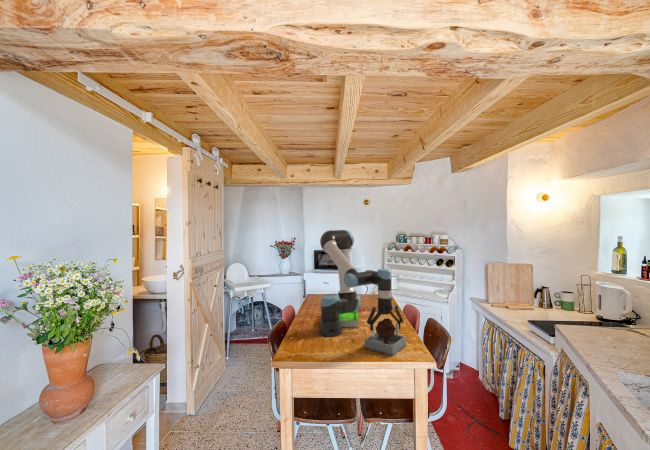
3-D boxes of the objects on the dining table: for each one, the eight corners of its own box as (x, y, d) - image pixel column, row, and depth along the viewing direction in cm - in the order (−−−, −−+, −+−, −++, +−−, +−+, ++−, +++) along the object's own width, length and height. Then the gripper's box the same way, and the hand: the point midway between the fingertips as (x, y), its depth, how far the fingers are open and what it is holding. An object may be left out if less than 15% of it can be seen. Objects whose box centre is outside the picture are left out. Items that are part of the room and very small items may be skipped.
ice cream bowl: (396, 342, 176) (395, 315, 176) (395, 349, 165) (394, 321, 165) (377, 340, 179) (376, 314, 179) (375, 348, 168) (374, 320, 168)
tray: (358, 317, 230) (358, 310, 230) (358, 328, 205) (358, 320, 205) (324, 316, 233) (324, 309, 233) (320, 327, 208) (320, 320, 208)
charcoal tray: (364, 348, 171) (364, 339, 171) (379, 339, 184) (379, 330, 184) (392, 356, 160) (392, 346, 160) (406, 345, 174) (406, 336, 174)
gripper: (364, 300, 167) (365, 339, 167) (409, 297, 170) (409, 336, 170) (361, 296, 174) (361, 334, 174) (403, 294, 177) (404, 332, 177)
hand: (385, 335), depth 172 cm, fingers open, 13 cm apart
